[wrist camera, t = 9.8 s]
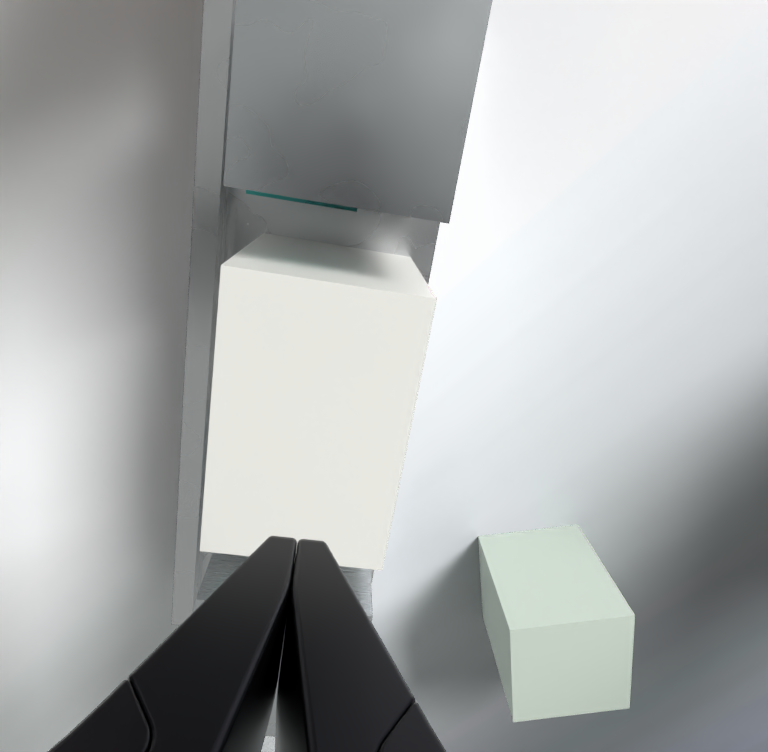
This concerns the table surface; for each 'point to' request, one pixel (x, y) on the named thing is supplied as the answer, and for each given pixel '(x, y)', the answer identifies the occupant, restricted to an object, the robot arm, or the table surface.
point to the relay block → (555, 624)
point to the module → (312, 396)
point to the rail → (314, 174)
